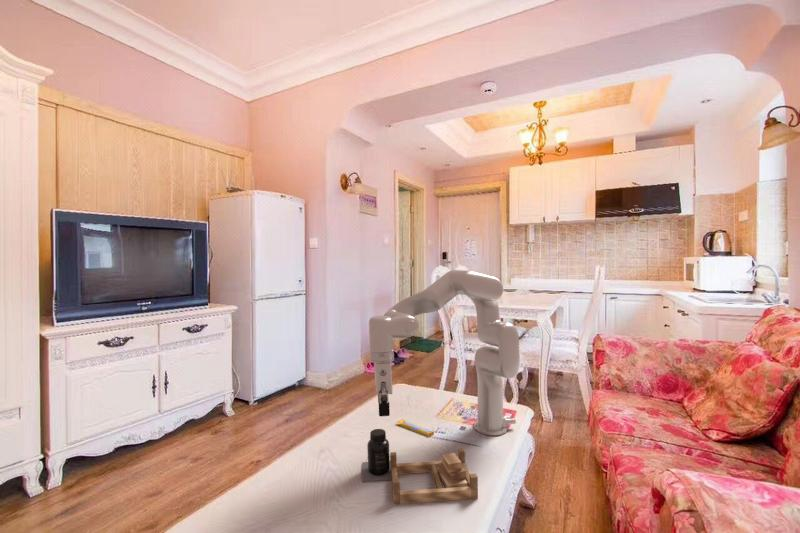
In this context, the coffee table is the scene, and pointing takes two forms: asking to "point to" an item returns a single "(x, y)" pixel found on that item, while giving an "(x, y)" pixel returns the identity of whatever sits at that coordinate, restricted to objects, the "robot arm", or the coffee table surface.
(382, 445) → the supplement bottle
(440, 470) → the offcut
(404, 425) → the candy bar
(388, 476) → the mat
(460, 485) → the offcut
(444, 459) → the offcut
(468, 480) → the rack
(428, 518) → the coffee table surface
